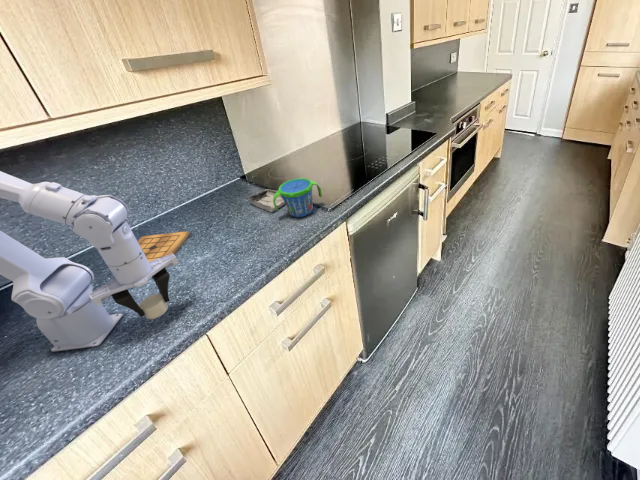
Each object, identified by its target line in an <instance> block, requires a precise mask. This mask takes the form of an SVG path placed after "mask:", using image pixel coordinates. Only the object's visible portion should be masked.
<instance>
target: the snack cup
mask: <svg viewBox="0 0 640 480" xmlns="http://www.w3.org/2000/svg"><path fill="white" fill-rule="evenodd" d="M313 186H316V188H317V191H318V197H319V198H322V197H323V192H322V188H321V186H320V185H319V184H318V183H317V182H316V181H313V180H310V179H309V178H303V177H299V178H293V179H289V180H287V181H285V182H283V183H282V184H280V185H279V186H278V189H277V190H276V191H277V192H276V193H275V195H274V198H273V203H274V206H275V208H276V210H275V211H276V212H279V208H277V206H276V204H275V200H276V198H277V197H278V196H279V195H281V197H282V198H283V200H284V202H285V204H284V205H285V206H286V209H287V210H288V213H289V215H290V216H292V217H294V218H304V217H305V216H308V215H310V214H311V213H312V211H313V208H314V207H313V206H314V205H313Z"/></svg>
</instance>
